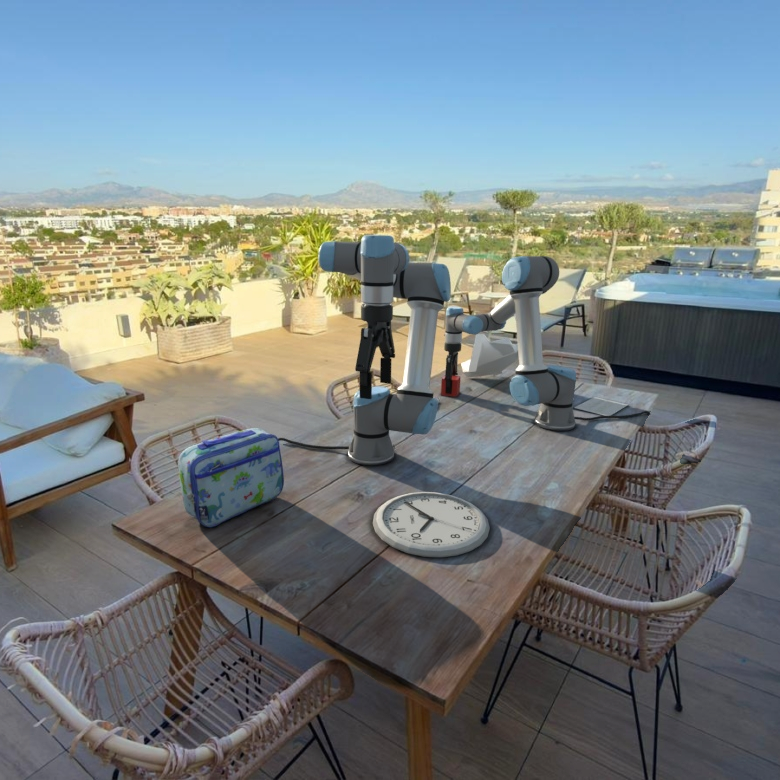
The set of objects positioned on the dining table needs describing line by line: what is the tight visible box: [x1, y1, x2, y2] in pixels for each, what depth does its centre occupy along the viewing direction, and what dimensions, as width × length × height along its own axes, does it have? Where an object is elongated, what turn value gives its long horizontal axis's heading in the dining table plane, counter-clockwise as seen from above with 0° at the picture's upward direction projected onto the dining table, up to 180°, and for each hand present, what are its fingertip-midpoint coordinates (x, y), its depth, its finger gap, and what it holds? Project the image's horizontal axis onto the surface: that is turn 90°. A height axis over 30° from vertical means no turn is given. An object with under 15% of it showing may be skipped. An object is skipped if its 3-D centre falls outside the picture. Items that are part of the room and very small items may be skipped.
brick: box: [440, 375, 461, 398], centre depth 239 cm, size 7×7×8 cm
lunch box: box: [177, 427, 285, 528], centre depth 137 cm, size 26×11×21 cm, turn 134°
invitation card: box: [573, 396, 629, 416], centre depth 226 cm, size 21×1×15 cm
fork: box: [434, 395, 442, 404], centre depth 223 cm, size 3×16×2 cm, turn 160°
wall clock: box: [372, 491, 490, 558], centre depth 135 cm, size 30×2×30 cm
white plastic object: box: [460, 313, 519, 378], centre depth 258 cm, size 37×45×31 cm
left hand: (376, 390), depth 129 cm, fingers open, 13 cm apart
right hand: (450, 391), depth 240 cm, fingers closed on brick, 7 cm apart
